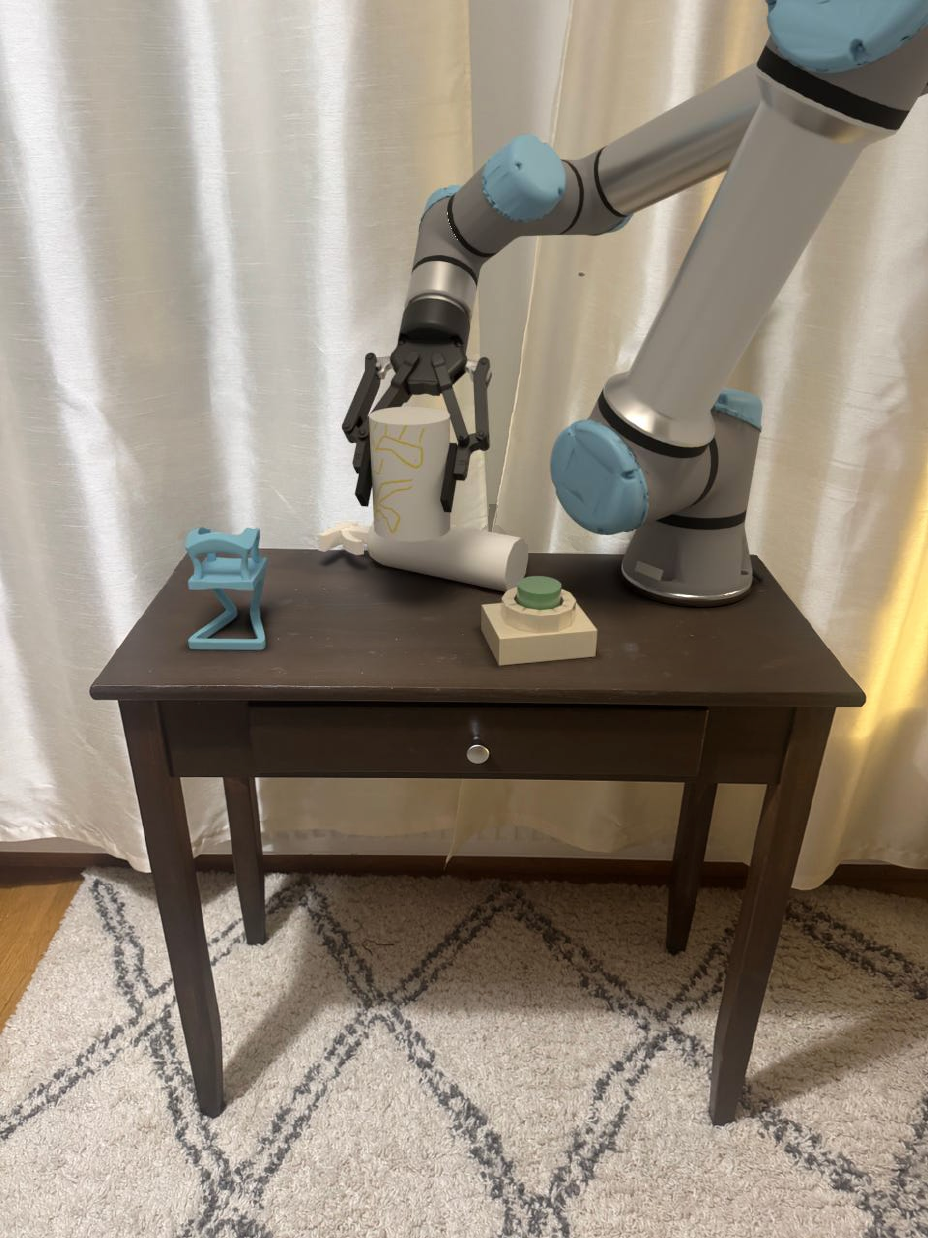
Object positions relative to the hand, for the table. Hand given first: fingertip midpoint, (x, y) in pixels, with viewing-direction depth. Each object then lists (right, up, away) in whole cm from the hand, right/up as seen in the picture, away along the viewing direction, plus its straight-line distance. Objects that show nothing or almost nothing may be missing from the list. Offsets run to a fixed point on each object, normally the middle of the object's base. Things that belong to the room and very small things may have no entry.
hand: (403, 503), depth 86 cm
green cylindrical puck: (+14, -10, 0) cm, 17 cm away
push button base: (+14, -14, +2) cm, 20 cm away
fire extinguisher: (+13, -5, +13) cm, 19 cm away
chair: (-18, -13, +4) cm, 23 cm away
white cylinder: (+1, -2, +5) cm, 5 cm away
